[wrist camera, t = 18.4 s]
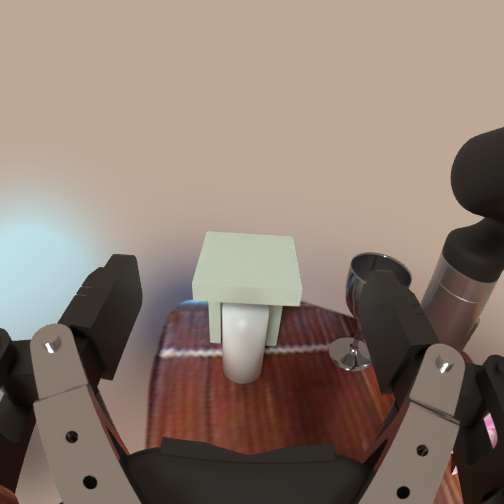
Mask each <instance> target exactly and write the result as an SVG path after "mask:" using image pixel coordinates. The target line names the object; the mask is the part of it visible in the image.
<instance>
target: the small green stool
mask: <svg viewBox="0 0 504 504" xmlns="http://www.w3.org/2000/svg"><path fill="white" fill-rule="evenodd" d="M192 288H193V300H198V301H209V324H210V342H211V343H221V336H222V330H221V302H226V303H243V304H261V305H270V308H269V317H268V325H267V333H266V346H276V344H277V338H278V332H279V326H280V320H281V313H282V307H283V306H299V305H300V300H301V295H302V290H303V289H302V284H301V278H300V273H299V267H298V262H297V257H296V251H295V246H294V241H293V237H290V236H275V235H259V234H240V233H224V232H207V234H206V237H205V240H204V244H203V247H202V251H201V254H200V257H199V261H198V265H197V268H196V272H195V275H194V279H193V282H192Z"/></svg>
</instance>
